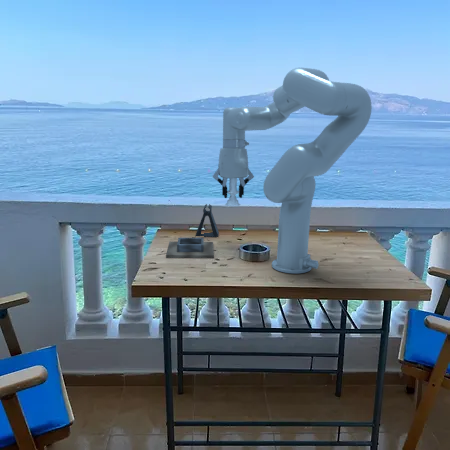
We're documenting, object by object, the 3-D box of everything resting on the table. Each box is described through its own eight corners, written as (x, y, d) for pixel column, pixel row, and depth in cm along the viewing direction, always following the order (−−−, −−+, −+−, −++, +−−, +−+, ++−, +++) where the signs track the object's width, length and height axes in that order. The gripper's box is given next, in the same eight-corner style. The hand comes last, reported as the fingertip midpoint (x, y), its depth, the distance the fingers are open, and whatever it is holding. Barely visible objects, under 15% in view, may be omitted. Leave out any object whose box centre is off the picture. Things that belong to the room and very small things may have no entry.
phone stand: (218, 233, 184) (219, 204, 181) (218, 237, 178) (218, 207, 175) (196, 232, 184) (196, 203, 181) (195, 236, 178) (195, 206, 175)
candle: (232, 202, 165) (232, 169, 162) (243, 205, 161) (244, 171, 158) (222, 204, 161) (222, 170, 158) (233, 207, 157) (233, 172, 154)
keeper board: (212, 244, 169) (213, 235, 168) (213, 258, 153) (214, 248, 152) (169, 244, 168) (169, 234, 167) (165, 258, 153) (165, 247, 152)
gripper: (256, 144, 161) (254, 195, 165) (208, 143, 158) (207, 195, 163) (260, 145, 153) (258, 199, 158) (210, 145, 151) (210, 199, 156)
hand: (232, 196), depth 160 cm, fingers closed on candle, 4 cm apart
